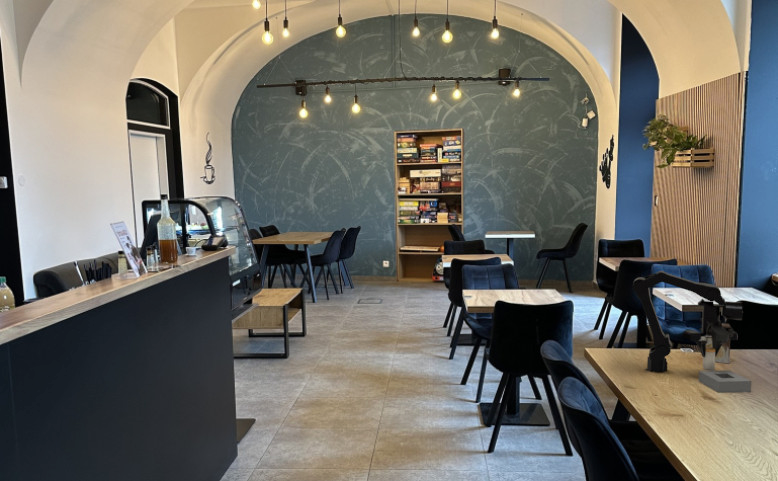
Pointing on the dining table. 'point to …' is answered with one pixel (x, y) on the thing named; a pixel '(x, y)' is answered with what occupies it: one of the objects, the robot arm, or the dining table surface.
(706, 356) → the plug
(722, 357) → the coffee box
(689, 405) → the dining table surface
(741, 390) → the header
